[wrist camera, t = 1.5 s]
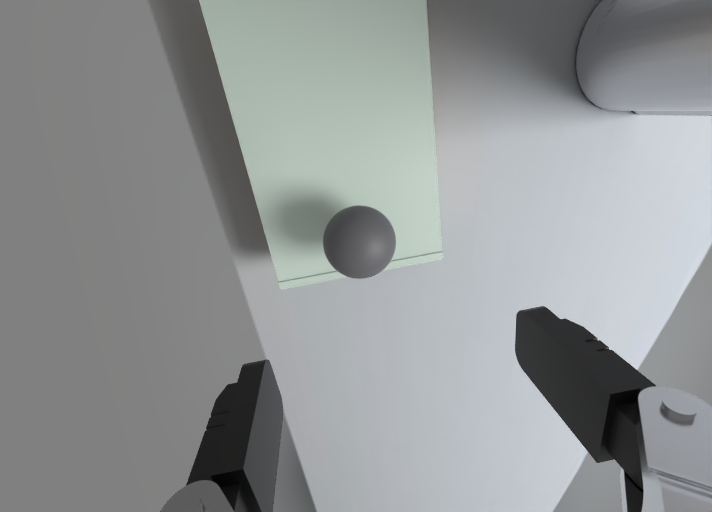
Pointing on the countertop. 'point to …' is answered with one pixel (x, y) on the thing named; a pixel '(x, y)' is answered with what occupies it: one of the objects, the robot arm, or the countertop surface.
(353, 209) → the lid
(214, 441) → the robot arm
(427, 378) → the countertop surface
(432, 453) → the countertop surface
